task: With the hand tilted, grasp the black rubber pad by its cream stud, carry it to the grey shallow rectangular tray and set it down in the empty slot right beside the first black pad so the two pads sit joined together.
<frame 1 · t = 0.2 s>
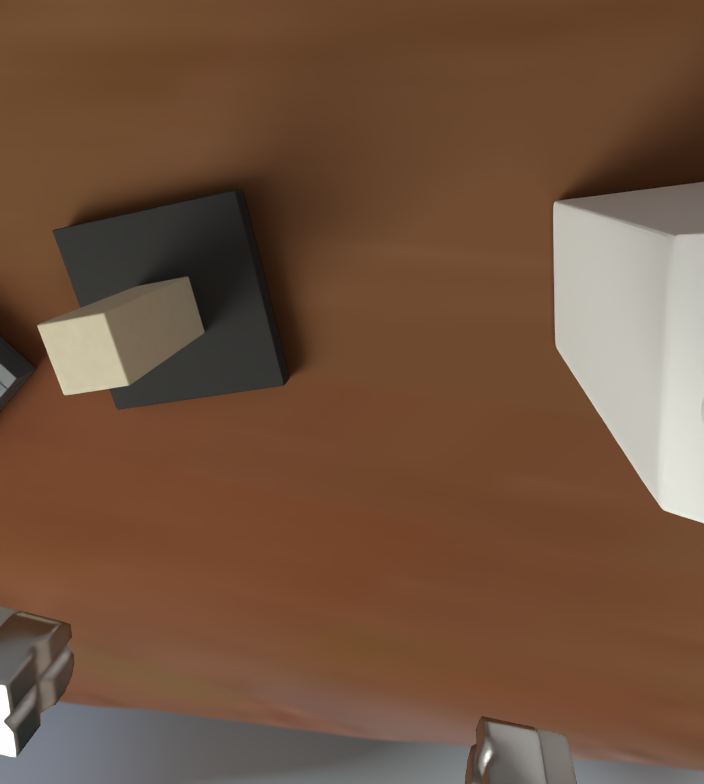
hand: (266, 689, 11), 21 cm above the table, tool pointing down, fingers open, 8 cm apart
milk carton: (630, 268, 28), on the table
loose pad: (180, 304, 31), on the table
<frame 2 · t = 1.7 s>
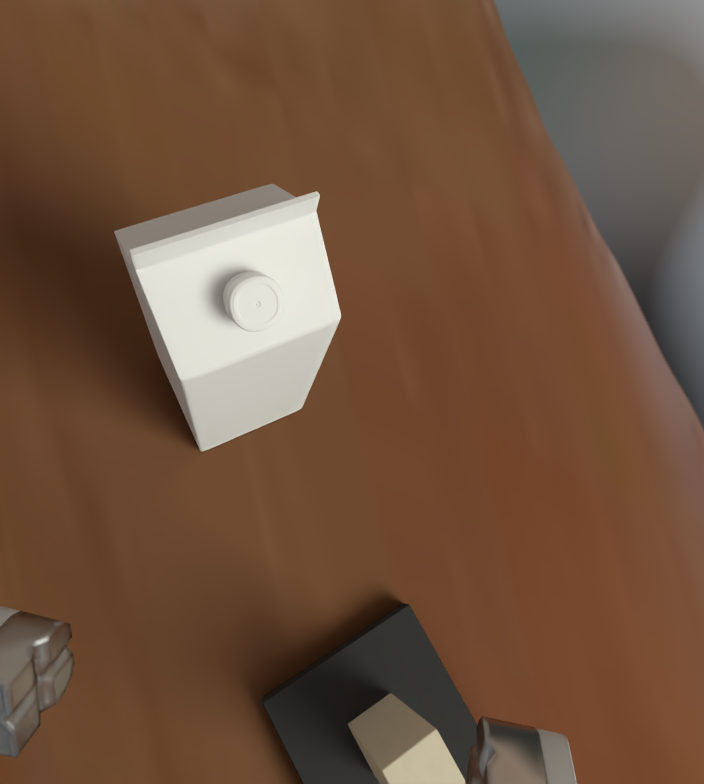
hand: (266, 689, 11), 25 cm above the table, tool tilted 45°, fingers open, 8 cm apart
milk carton: (230, 383, 38), on the table
loose pad: (377, 727, 34), on the table
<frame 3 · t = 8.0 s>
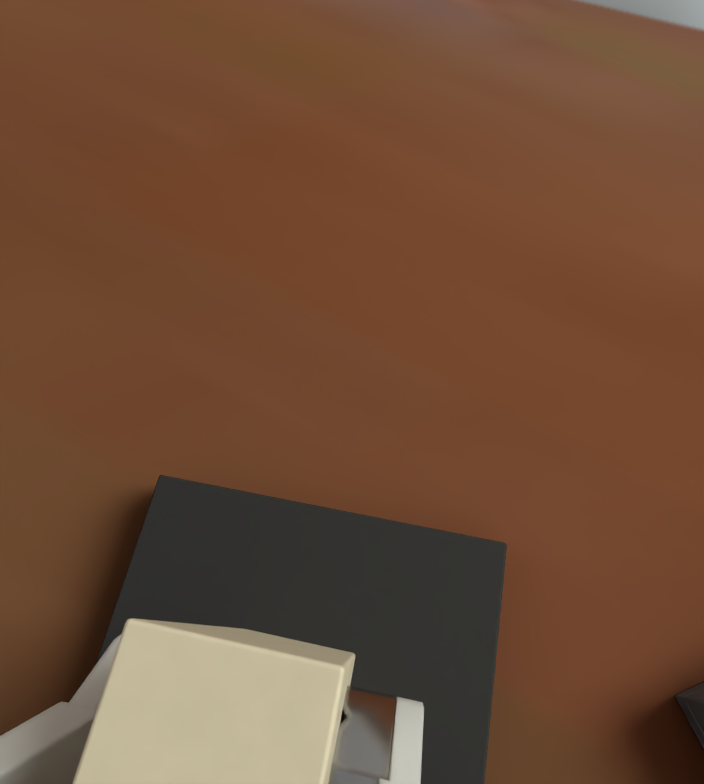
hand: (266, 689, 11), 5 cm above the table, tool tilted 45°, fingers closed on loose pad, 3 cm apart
loose pad: (290, 700, 15), on the table, touching gripper
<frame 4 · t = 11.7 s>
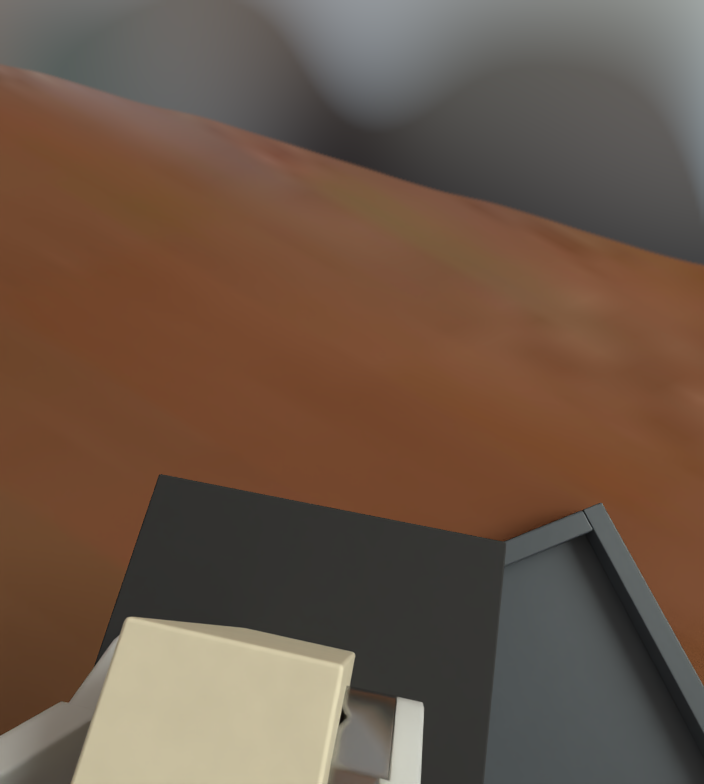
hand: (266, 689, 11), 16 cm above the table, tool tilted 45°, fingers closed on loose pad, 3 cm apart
loose pad: (290, 699, 15), point 12 cm above the table, touching gripper
when the fingers open (6 cm above the table, at t = 15.7 s): loose pad stays where it is, resting on grey shallow rectangular tray, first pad.
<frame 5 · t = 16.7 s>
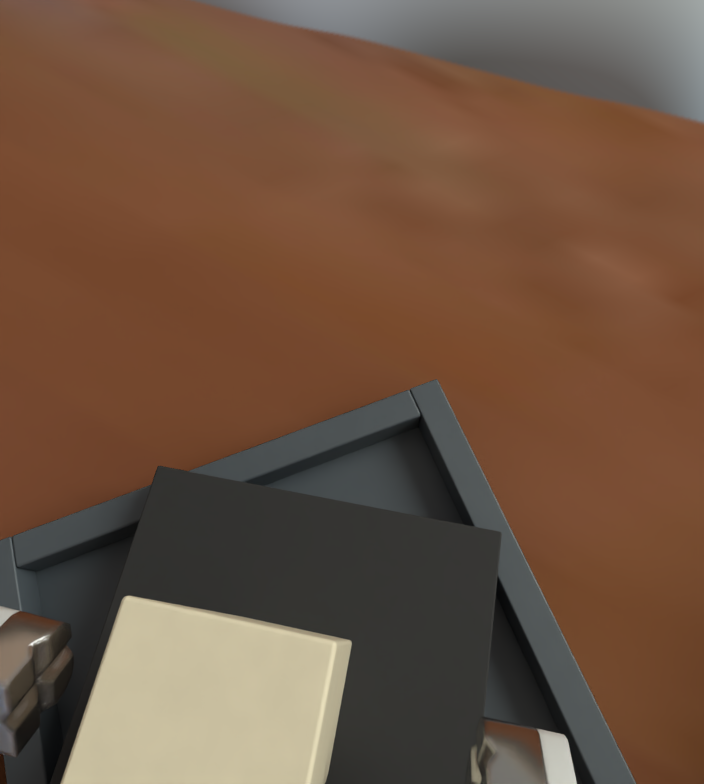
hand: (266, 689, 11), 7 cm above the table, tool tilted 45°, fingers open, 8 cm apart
loose pad: (288, 688, 16), point 2 cm above the table, touching grey shallow rectangular tray, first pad
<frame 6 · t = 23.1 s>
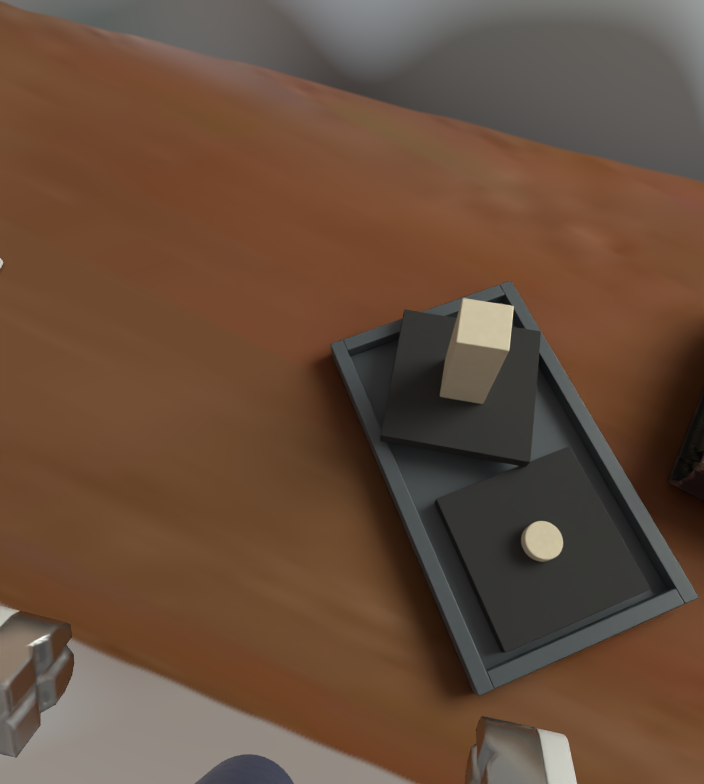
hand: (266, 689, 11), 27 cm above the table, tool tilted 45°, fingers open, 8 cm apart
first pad: (534, 545, 38), resting on grey shallow rectangular tray
loose pad: (461, 388, 41), point 2 cm above the table, touching grey shallow rectangular tray, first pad
grey shallow rectangular tray: (492, 465, 41), on the table
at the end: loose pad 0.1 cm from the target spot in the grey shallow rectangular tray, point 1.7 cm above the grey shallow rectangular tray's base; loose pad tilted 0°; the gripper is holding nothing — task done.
